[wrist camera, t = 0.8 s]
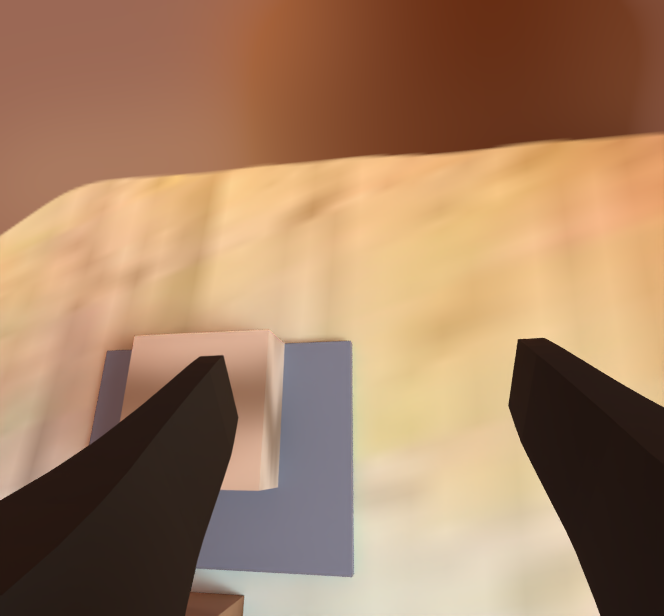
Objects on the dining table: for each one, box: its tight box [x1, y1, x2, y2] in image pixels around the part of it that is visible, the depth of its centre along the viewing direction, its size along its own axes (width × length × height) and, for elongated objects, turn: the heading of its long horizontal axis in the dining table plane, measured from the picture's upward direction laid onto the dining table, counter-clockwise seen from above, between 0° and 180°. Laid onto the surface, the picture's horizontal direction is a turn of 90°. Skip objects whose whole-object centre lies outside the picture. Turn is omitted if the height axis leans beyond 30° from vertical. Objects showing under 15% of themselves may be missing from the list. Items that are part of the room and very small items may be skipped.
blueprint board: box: [89, 329, 354, 577], centre depth 23 cm, size 12×16×4 cm
